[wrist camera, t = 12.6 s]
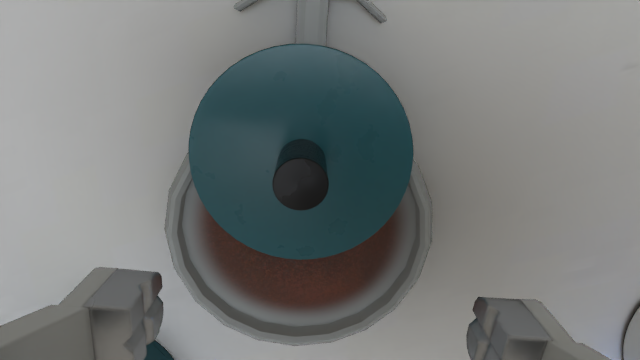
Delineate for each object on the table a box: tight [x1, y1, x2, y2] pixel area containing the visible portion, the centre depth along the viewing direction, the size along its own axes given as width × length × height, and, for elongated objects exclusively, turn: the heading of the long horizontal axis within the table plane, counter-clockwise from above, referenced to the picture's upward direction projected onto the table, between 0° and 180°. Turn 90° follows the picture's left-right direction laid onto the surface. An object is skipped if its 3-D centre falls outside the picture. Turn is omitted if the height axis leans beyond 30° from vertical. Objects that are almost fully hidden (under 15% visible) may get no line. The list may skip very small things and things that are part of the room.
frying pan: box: [165, 0, 432, 346], centre depth 24 cm, size 17×3×28 cm
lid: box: [189, 44, 413, 260], centre depth 21 cm, size 12×12×5 cm
